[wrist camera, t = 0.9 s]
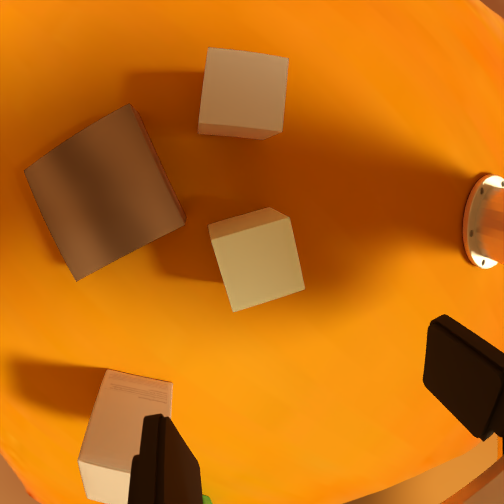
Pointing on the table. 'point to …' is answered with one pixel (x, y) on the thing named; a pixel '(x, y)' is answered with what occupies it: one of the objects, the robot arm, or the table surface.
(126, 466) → the supplement box
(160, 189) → the walnut base
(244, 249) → the beige block
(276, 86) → the grey block
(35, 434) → the table surface
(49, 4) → the table surface
